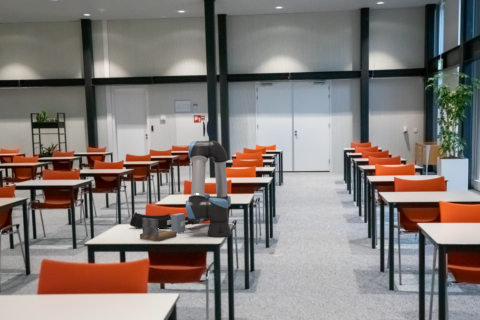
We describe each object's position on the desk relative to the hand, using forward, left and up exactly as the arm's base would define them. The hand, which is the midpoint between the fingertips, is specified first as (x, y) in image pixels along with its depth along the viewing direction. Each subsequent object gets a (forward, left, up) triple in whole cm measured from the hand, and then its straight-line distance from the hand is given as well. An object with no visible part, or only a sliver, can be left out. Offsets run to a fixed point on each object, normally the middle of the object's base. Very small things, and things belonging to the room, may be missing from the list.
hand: (174, 223), depth 339 cm
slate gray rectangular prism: (0, -4, -7) cm, 8 cm away
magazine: (+26, -5, -7) cm, 27 cm away
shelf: (0, +15, -7) cm, 16 cm away
